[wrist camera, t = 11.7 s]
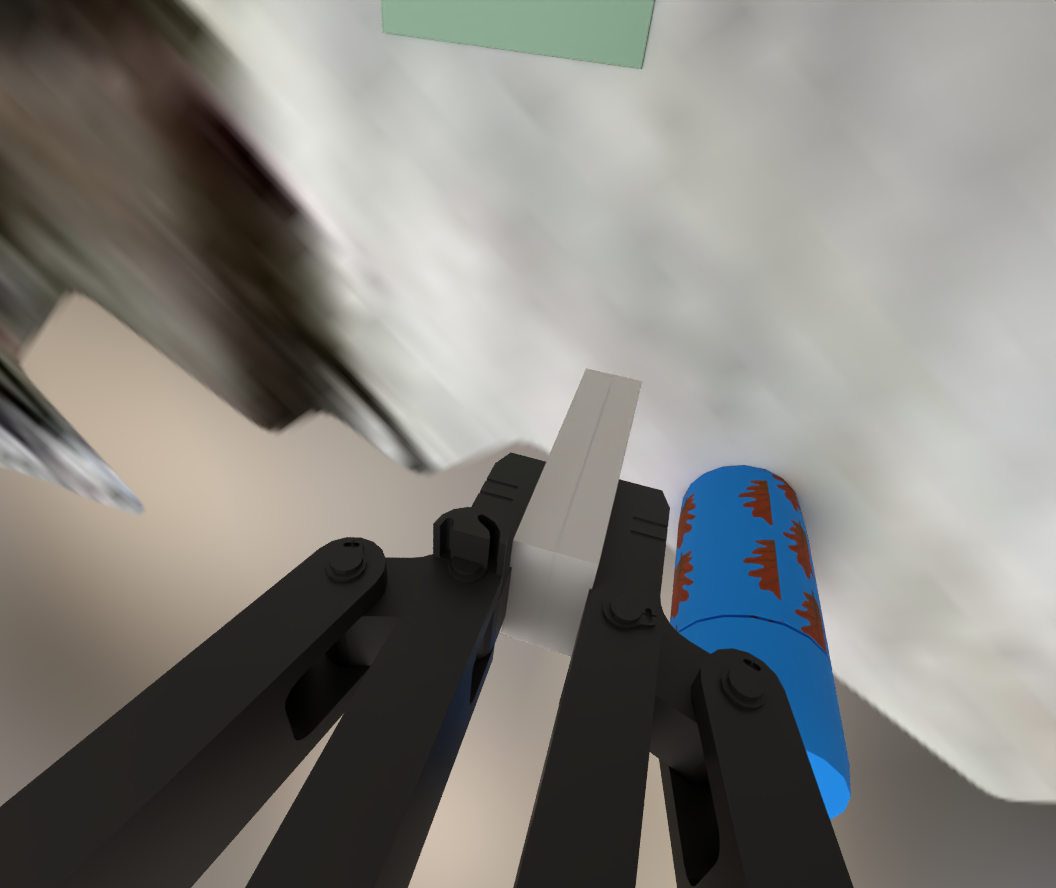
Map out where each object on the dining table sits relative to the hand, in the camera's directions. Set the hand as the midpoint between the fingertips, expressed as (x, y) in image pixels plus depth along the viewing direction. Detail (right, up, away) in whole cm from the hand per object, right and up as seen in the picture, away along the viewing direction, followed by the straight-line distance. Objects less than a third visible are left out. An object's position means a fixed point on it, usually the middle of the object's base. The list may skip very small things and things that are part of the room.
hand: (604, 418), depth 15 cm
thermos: (+18, -7, +38) cm, 42 cm away
